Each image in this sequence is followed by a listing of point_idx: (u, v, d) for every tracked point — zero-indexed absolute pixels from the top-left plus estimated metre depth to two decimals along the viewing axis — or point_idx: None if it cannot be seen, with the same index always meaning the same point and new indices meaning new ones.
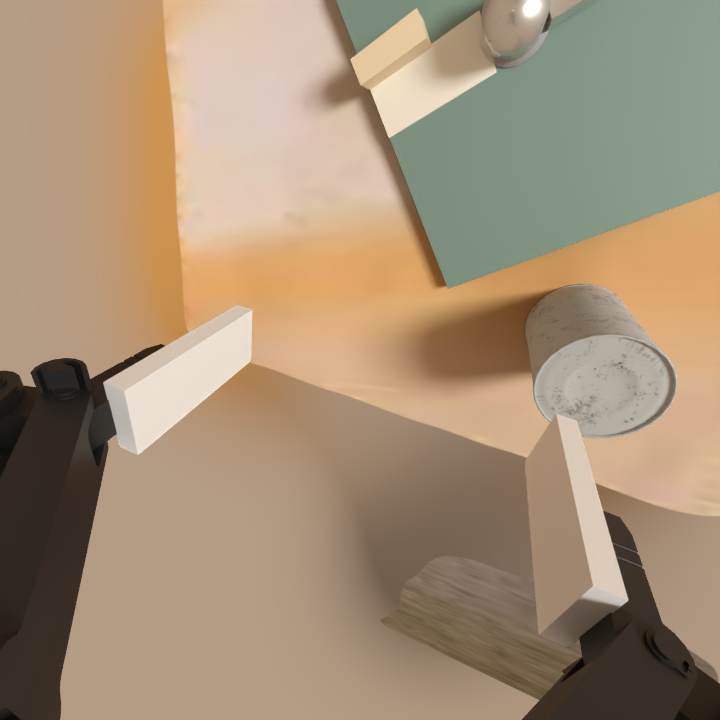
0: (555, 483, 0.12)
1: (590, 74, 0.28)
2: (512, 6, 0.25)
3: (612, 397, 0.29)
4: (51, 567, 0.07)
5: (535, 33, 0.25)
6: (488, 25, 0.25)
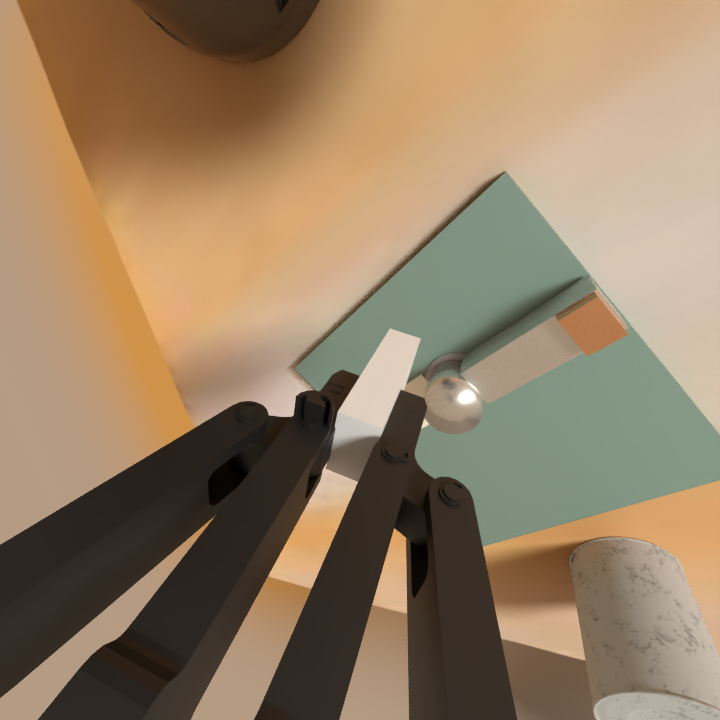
0: None
1: (543, 405, 0.29)
2: (448, 410, 0.27)
3: None
4: (232, 601, 0.07)
5: (476, 424, 0.27)
6: (432, 421, 0.28)
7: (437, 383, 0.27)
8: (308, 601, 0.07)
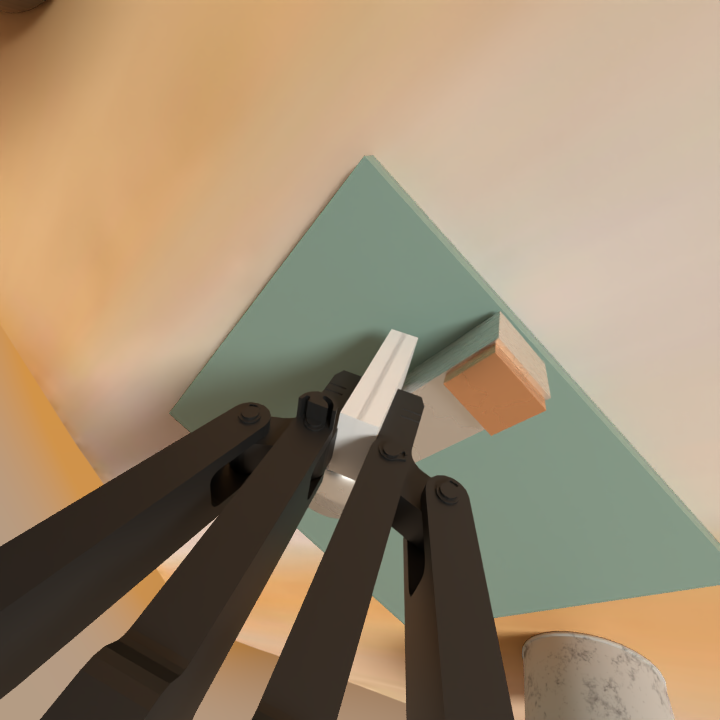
0: None
1: (463, 475, 0.21)
2: (321, 488, 0.20)
3: None
4: (233, 603, 0.07)
5: None
6: None
7: None
8: (306, 600, 0.07)
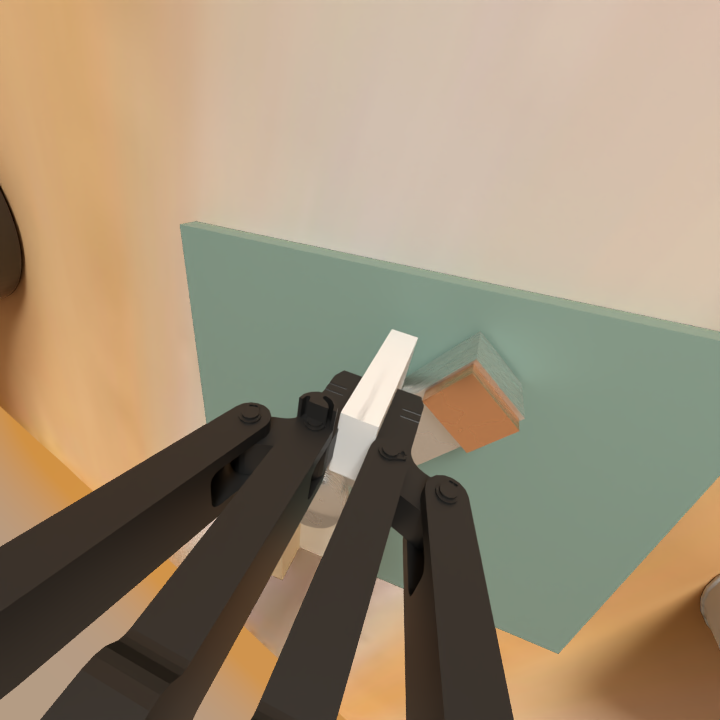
0: None
1: None
2: None
3: None
4: (234, 603, 0.07)
5: (337, 520, 0.20)
6: None
7: None
8: (305, 600, 0.07)
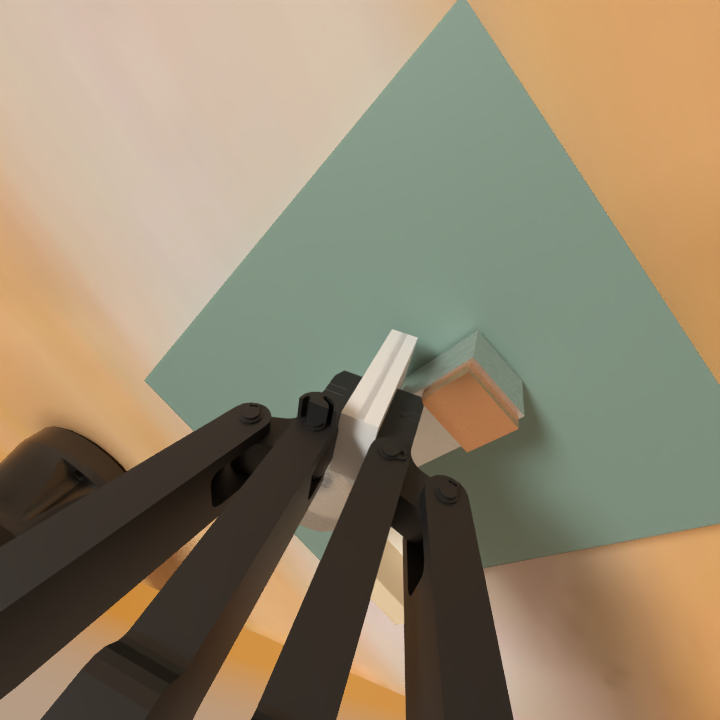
0: None
1: (358, 360, 0.20)
2: None
3: None
4: (234, 603, 0.07)
5: None
6: None
7: None
8: (305, 600, 0.07)
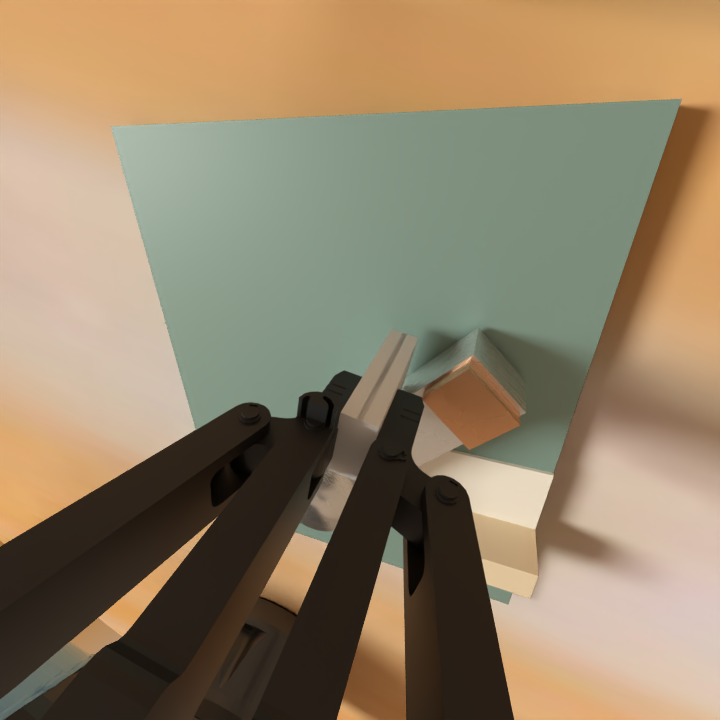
0: None
1: (275, 362, 0.22)
2: None
3: None
4: (234, 603, 0.07)
5: None
6: None
7: None
8: (305, 600, 0.07)
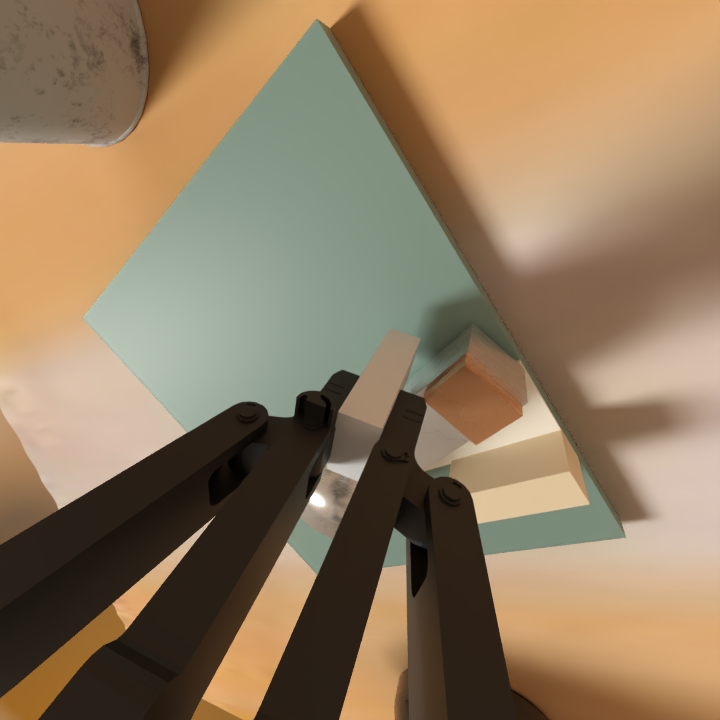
0: None
1: None
2: (325, 512, 0.20)
3: None
4: (232, 602, 0.07)
5: None
6: (312, 524, 0.21)
7: None
8: (308, 601, 0.07)
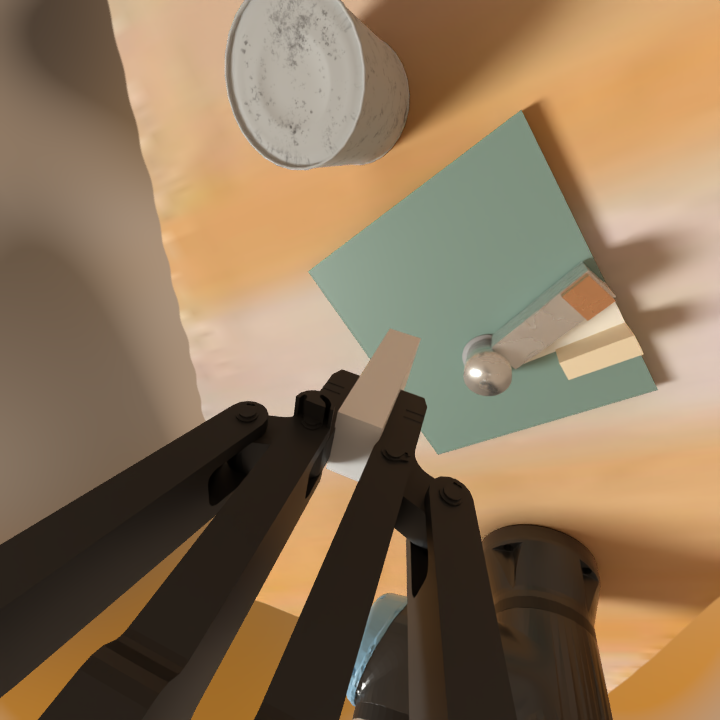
0: None
1: (426, 329, 0.39)
2: (485, 376, 0.35)
3: (276, 75, 0.23)
4: (232, 601, 0.07)
5: (508, 385, 0.34)
6: (473, 387, 0.36)
7: (474, 357, 0.35)
8: (308, 601, 0.07)
